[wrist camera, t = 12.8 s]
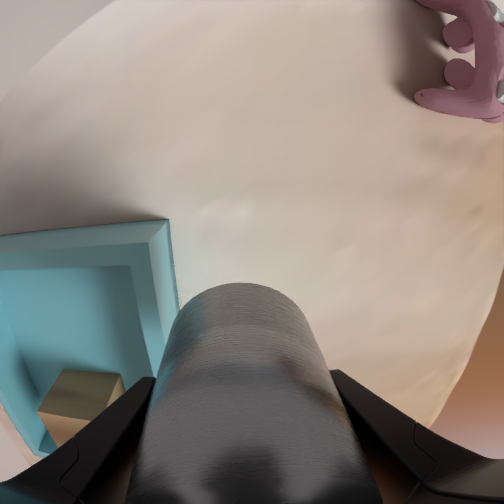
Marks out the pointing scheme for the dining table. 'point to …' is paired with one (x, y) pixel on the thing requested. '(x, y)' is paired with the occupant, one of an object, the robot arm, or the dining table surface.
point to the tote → (81, 311)
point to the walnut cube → (77, 401)
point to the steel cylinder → (247, 411)
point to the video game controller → (462, 72)
